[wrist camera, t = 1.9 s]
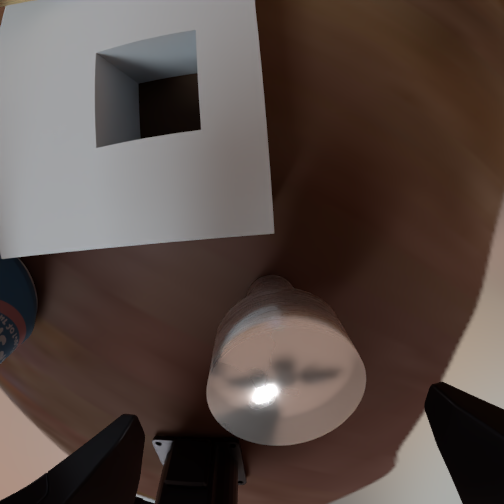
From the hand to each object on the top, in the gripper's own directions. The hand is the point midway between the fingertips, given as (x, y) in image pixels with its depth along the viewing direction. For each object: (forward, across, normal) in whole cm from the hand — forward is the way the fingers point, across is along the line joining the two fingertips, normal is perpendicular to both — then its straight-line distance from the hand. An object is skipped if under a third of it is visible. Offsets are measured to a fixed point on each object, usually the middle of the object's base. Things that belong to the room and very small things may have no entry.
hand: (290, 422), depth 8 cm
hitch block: (+9, +6, -13) cm, 17 cm away
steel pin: (+9, 0, 0) cm, 9 cm away
